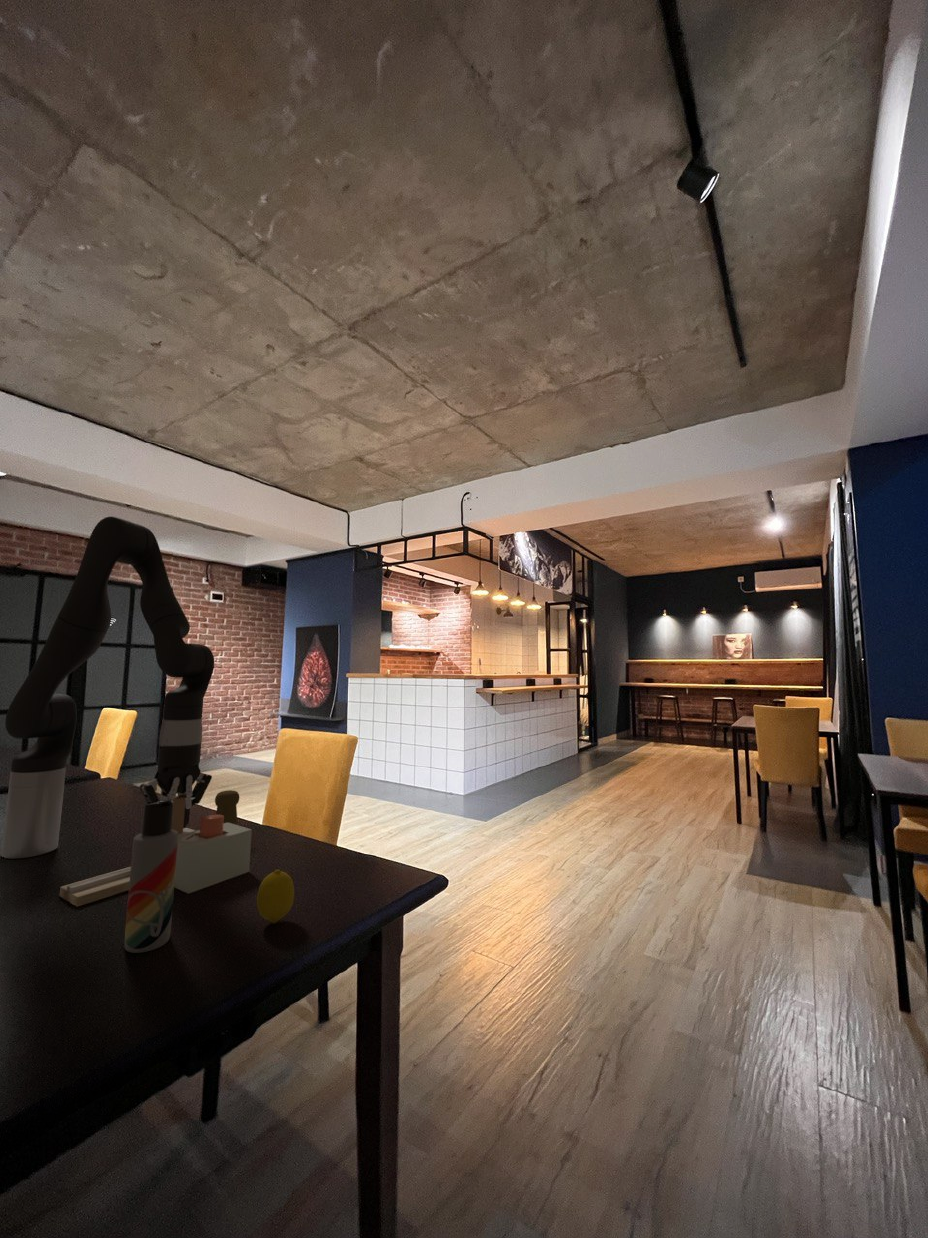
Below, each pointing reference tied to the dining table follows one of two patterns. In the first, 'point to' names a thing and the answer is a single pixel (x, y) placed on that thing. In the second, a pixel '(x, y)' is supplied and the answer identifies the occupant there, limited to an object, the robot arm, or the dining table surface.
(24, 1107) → the dining table surface
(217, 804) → the dark brown knob shape
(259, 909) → the lemon
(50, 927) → the dining table surface
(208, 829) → the gauge plunger
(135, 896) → the lotion bottle
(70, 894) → the rail
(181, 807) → the carriage
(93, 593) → the robot arm
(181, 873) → the cabinet
